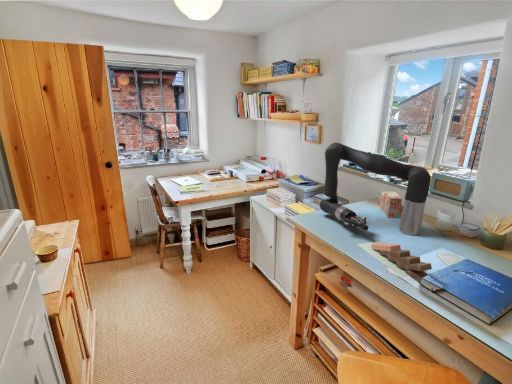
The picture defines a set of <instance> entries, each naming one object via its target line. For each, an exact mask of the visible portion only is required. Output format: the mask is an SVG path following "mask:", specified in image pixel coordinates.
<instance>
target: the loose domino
mask: <svg viewBox="0 0 512 384" xmlns="http://www.w3.org/2000/svg"><path fill="white" fill-rule="evenodd" d="M371 247H372V249H375V250H383V251H396V250H402V249H401V244H397V243H396V244H395V243H394V244H393V243H383V242H381V243H378V244H372V245H371Z"/></svg>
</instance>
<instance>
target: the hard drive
mask: <svg viewBox="0 0 512 384" xmlns="http://www.w3.org/2000/svg"><path fill="white" fill-rule="evenodd" d="M436 255H437V256H438V257H437V256H436ZM435 256H436V257H437V258H438V259H439V260H440V261H442V263H443V264H444V265H445V266H446V267H448V266H449V265H452V264H455V263H457V262H460V261H463V259H461V258H460V257H459V256H458V255H457V254H453V253H436V254H435Z"/></svg>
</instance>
